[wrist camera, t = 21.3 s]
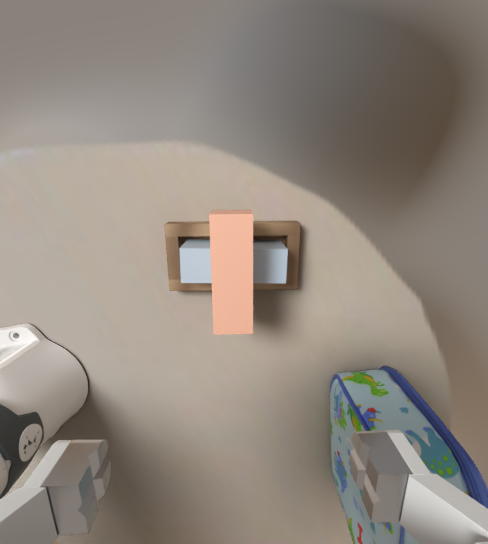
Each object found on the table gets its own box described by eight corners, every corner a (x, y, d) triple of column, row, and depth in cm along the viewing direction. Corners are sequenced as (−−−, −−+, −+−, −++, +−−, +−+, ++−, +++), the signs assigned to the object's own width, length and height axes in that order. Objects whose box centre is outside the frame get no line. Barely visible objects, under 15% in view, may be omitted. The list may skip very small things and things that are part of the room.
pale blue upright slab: (188, 269, 40) (180, 282, 34) (187, 239, 38) (179, 248, 33) (278, 269, 40) (286, 283, 34) (279, 240, 39) (287, 249, 33)
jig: (173, 284, 41) (169, 290, 38) (169, 221, 38) (164, 224, 36) (293, 282, 41) (297, 288, 39) (296, 220, 39) (300, 223, 36)
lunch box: (390, 483, 52) (490, 671, 32) (329, 491, 52) (390, 683, 32) (393, 351, 45) (524, 486, 25) (322, 360, 45) (395, 502, 25)
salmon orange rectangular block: (212, 210, 32) (209, 214, 27) (250, 209, 32) (253, 213, 27) (216, 314, 35) (213, 334, 30) (250, 313, 35) (253, 333, 30)
